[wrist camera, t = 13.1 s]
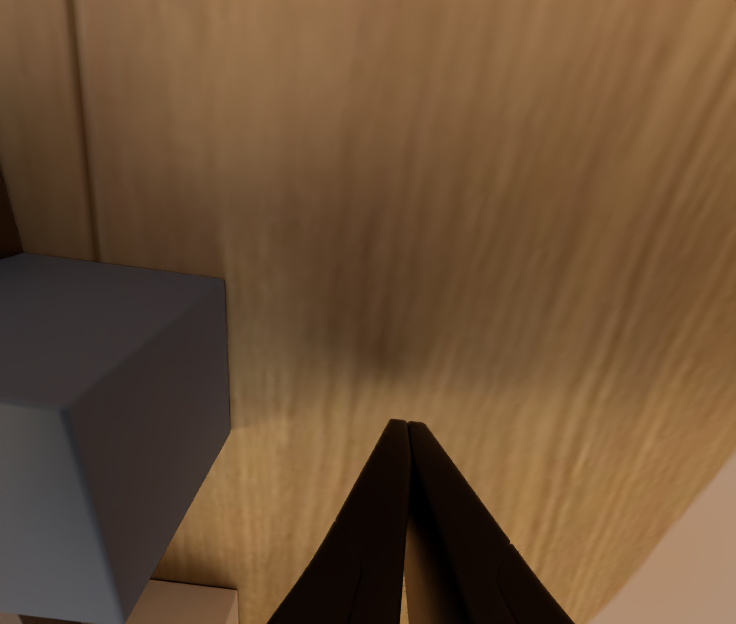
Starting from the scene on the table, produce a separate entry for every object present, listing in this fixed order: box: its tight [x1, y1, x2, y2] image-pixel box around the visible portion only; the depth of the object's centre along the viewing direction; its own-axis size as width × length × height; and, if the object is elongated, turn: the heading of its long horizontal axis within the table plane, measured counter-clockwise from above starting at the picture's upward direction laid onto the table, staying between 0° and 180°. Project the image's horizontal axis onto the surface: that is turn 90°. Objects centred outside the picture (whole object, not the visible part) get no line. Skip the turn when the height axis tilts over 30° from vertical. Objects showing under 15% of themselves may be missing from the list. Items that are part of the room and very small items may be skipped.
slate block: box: [0, 253, 230, 624], centre depth 8 cm, size 5×5×5 cm
